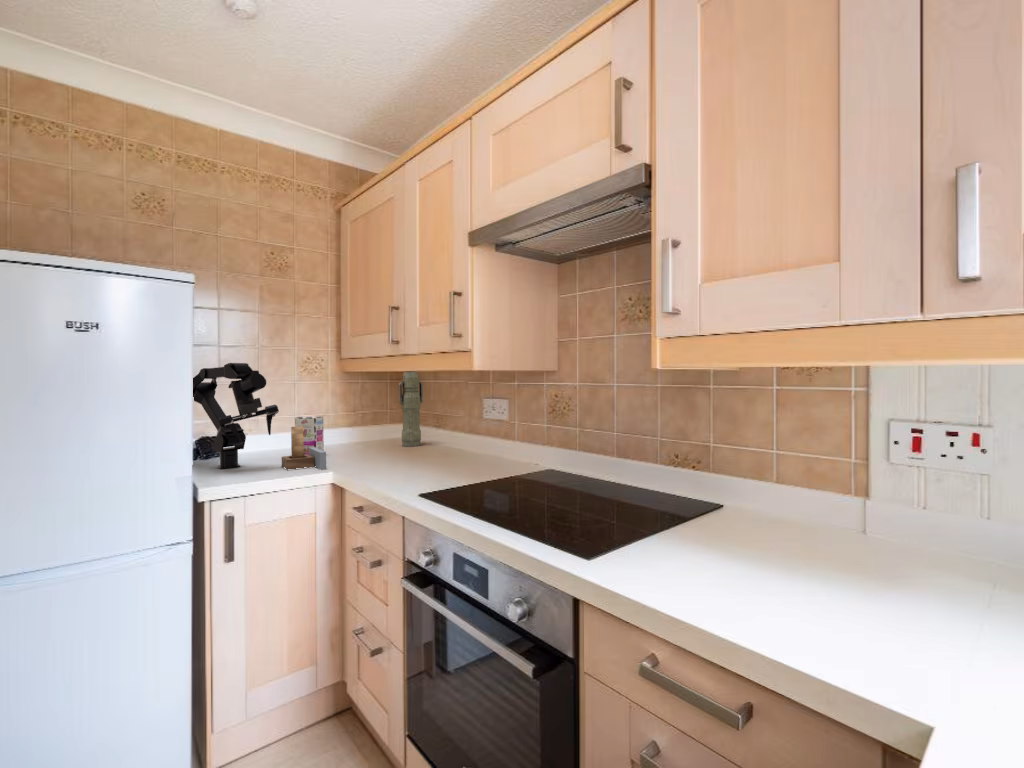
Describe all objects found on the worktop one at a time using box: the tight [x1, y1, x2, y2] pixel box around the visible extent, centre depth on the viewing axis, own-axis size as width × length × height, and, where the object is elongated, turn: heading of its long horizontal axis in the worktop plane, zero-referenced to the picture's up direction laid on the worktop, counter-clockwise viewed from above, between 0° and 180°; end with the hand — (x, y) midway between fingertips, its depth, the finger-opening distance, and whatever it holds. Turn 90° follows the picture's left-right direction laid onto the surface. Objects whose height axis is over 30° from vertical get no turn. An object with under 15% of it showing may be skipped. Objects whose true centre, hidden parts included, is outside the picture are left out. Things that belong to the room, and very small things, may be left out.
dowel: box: [290, 425, 304, 459], centre depth 177 cm, size 4×4×14 cm
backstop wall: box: [309, 447, 327, 470], centre depth 178 cm, size 16×2×6 cm, turn 36°
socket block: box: [281, 454, 315, 470], centre depth 177 cm, size 9×9×4 cm
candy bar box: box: [294, 415, 325, 455], centre depth 202 cm, size 11×5×16 cm, turn 68°
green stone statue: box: [397, 371, 424, 448], centre depth 230 cm, size 9×12×35 cm
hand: (255, 438), depth 172 cm, fingers open, 9 cm apart
